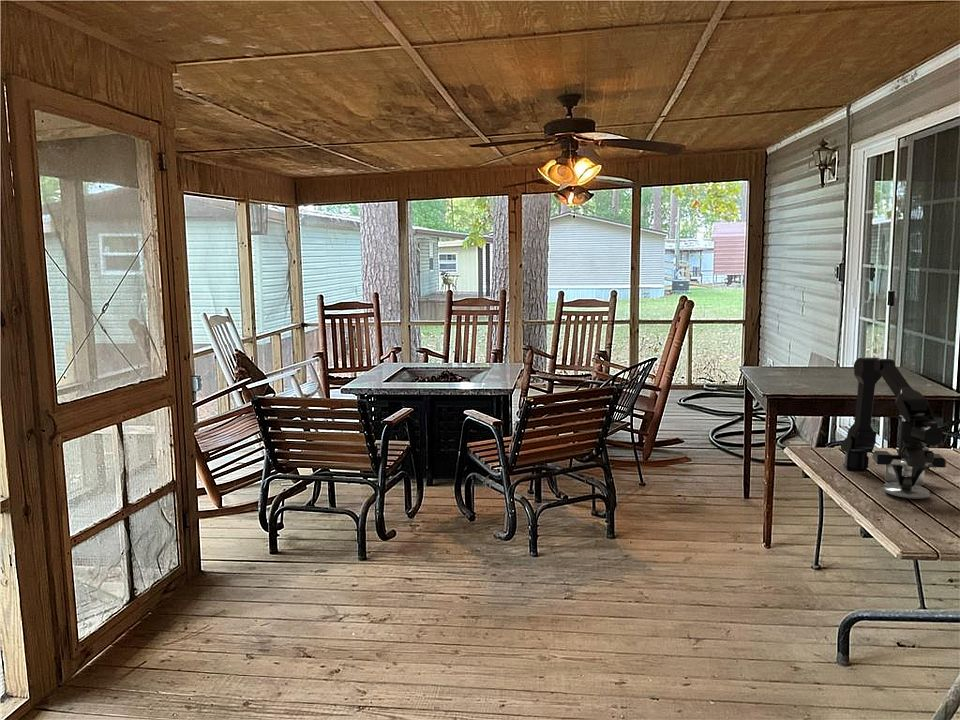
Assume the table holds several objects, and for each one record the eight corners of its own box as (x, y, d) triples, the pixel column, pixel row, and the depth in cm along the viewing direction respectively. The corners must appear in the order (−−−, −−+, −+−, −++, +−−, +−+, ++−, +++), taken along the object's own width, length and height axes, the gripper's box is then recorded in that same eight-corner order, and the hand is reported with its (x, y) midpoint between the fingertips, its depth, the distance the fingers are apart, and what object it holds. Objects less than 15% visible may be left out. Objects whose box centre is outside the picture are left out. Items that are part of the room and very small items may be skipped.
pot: (880, 484, 226) (881, 463, 225) (870, 474, 237) (872, 454, 236) (939, 488, 222) (941, 467, 221) (927, 477, 232) (928, 457, 231)
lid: (889, 497, 211) (890, 481, 211) (877, 484, 223) (878, 469, 223) (935, 500, 208) (937, 484, 208) (921, 486, 220) (922, 471, 219)
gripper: (884, 442, 208) (880, 492, 210) (955, 445, 203) (950, 496, 205) (873, 432, 218) (870, 480, 221) (941, 435, 214) (936, 484, 216)
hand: (906, 485), depth 216 cm, fingers closed on lid, 3 cm apart
